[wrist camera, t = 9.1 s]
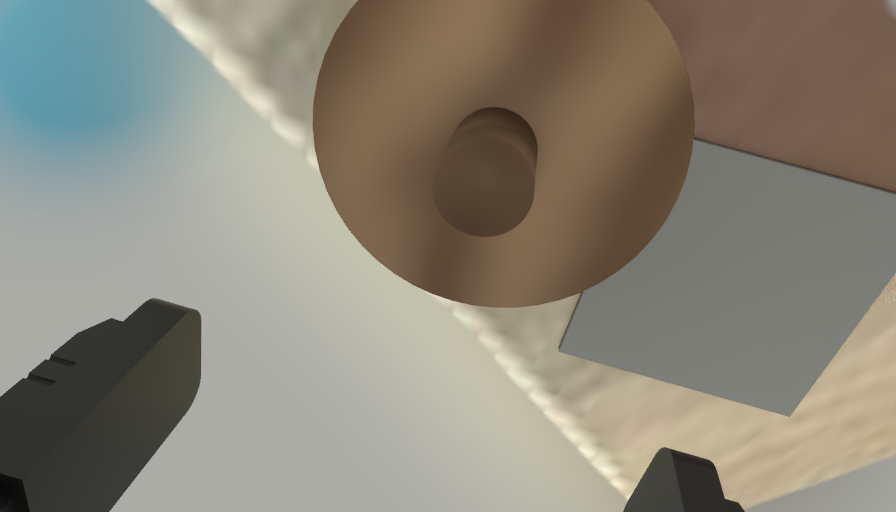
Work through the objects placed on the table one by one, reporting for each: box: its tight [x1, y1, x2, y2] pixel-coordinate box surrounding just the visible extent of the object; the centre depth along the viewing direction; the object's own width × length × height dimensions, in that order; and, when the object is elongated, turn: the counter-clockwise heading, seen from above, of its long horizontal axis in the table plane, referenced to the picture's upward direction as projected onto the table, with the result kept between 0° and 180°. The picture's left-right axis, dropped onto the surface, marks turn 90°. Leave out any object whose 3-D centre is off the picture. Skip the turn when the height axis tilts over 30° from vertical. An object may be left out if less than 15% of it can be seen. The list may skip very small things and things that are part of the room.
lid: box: [313, 0, 695, 307], centre depth 20 cm, size 14×14×5 cm
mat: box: [559, 138, 896, 417], centre depth 33 cm, size 15×15×1 cm
